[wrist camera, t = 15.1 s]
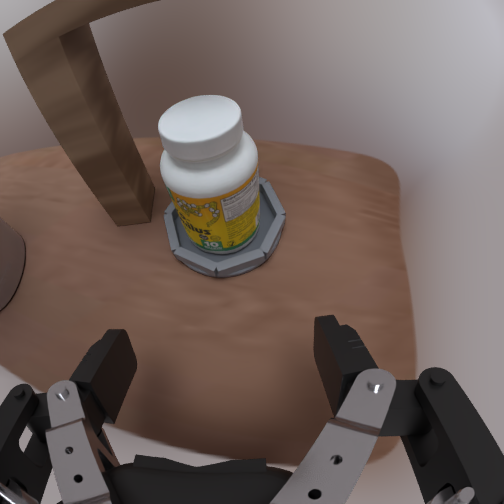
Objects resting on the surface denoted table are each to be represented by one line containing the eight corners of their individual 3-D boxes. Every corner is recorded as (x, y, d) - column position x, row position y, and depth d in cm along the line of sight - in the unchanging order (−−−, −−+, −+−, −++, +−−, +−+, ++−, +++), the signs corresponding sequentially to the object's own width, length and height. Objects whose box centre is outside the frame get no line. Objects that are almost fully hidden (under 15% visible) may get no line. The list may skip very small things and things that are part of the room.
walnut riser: (276, 209, 21) (286, -51, 5) (117, 226, 21) (2, 34, 5) (271, 175, 23) (273, -51, 7) (124, 193, 23) (36, 12, 7)
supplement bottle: (275, 224, 20) (282, 113, 12) (217, 272, 19) (183, 173, 10) (227, 183, 22) (211, 78, 14) (172, 223, 21) (127, 123, 12)
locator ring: (150, 249, 20) (143, 240, 19) (205, 171, 24) (202, 158, 22) (252, 296, 18) (251, 289, 17) (297, 201, 22) (299, 189, 20)
